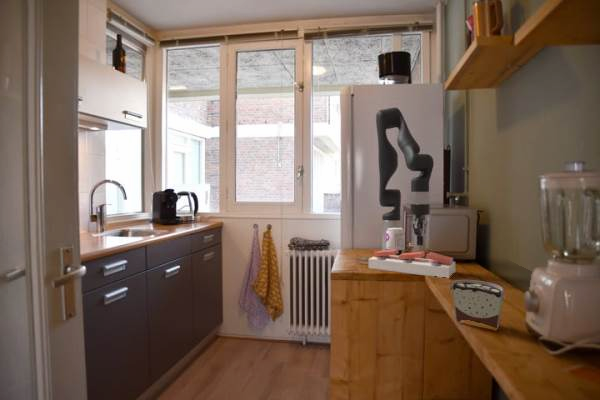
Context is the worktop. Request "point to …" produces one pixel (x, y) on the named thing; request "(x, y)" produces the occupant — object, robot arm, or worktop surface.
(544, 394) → the worktop surface
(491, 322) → the food container
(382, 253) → the rocker
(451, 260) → the rocker
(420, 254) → the rocker middle
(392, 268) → the power strip
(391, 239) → the supplement can
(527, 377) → the worktop surface
